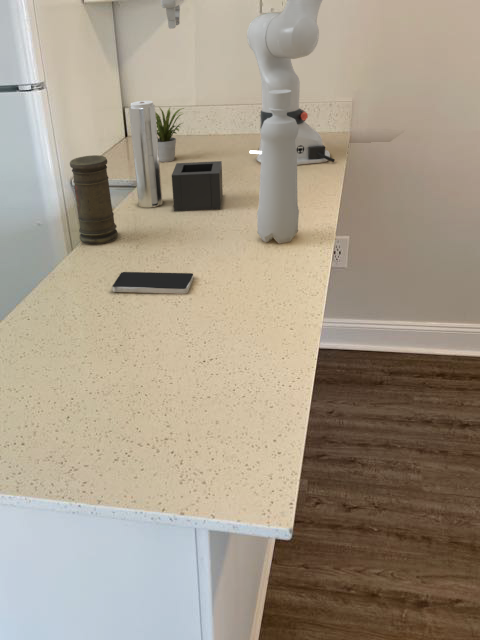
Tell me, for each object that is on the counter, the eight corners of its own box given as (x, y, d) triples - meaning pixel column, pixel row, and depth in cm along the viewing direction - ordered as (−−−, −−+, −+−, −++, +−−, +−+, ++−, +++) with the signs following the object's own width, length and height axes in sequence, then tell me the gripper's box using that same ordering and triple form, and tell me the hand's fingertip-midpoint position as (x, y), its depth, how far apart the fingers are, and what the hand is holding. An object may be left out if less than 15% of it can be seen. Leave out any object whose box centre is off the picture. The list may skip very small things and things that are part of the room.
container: (123, 232, 162) (114, 154, 152) (108, 246, 155) (97, 164, 145) (90, 231, 165) (79, 154, 154) (73, 244, 158) (61, 164, 148)
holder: (222, 195, 182) (221, 161, 176) (220, 209, 172) (219, 173, 167) (178, 197, 183) (176, 163, 178) (174, 211, 173) (171, 175, 168)
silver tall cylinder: (164, 199, 182) (156, 98, 168) (161, 207, 177) (152, 103, 163) (140, 200, 183) (130, 100, 169) (136, 208, 178) (126, 105, 163)
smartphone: (186, 289, 129) (111, 287, 132) (186, 294, 130) (112, 292, 132) (193, 272, 135) (121, 271, 138) (193, 278, 136) (122, 276, 139)
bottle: (302, 233, 153) (308, 87, 136) (291, 247, 146) (295, 95, 129) (264, 230, 156) (265, 87, 139) (251, 243, 150) (250, 95, 133)
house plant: (200, 156, 220) (197, 101, 211) (177, 166, 211) (174, 110, 202) (164, 153, 227) (160, 100, 218) (140, 163, 218) (135, 108, 208)
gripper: (178, -40, 156) (182, 29, 164) (186, -40, 173) (189, 22, 181) (152, -37, 157) (157, 31, 165) (162, -38, 174) (166, 24, 182)
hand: (174, 26), depth 173 cm, fingers open, 8 cm apart
